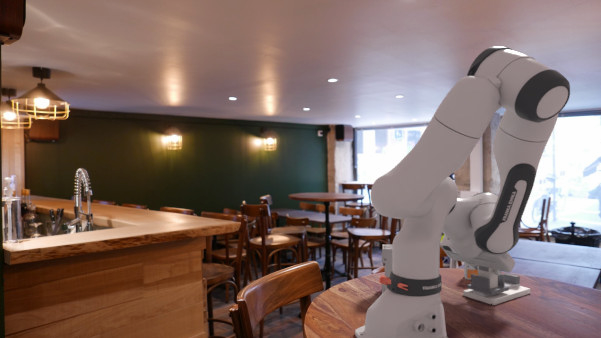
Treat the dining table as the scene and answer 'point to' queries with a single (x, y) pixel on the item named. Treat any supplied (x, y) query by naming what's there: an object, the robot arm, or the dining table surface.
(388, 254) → the circuit breaker
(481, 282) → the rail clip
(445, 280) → the dining table surface
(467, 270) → the skincare box
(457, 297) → the dining table surface
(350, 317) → the dining table surface
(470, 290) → the board
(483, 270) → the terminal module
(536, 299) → the dining table surface
